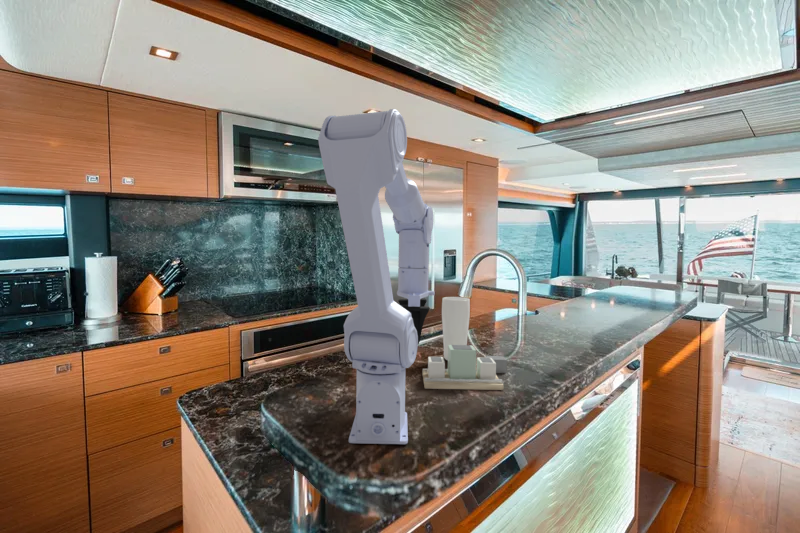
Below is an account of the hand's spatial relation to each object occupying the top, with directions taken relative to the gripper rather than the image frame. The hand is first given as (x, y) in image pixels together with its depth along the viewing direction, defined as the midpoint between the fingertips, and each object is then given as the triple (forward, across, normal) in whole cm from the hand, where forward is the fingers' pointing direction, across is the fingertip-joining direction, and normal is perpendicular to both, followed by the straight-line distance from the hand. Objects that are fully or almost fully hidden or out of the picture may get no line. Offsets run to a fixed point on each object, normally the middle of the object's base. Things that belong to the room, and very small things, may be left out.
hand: (412, 339), depth 71 cm
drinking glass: (+10, +20, -11) cm, 25 cm away
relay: (+10, +12, -19) cm, 24 cm away
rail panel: (+9, +4, -10) cm, 14 cm away
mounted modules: (+8, +4, -10) cm, 14 cm away
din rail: (+9, +4, -10) cm, 14 cm away
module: (+8, +4, -10) cm, 14 cm away
